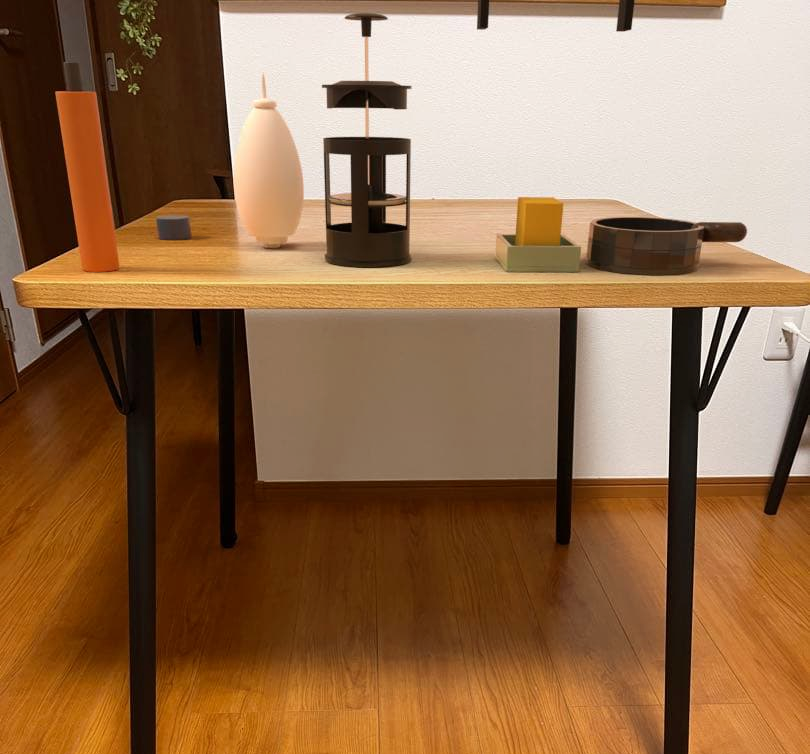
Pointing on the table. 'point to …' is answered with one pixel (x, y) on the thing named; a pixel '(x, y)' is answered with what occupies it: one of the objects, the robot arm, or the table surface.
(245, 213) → the air blower bulb
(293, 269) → the table surface
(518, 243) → the sponge
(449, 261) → the table surface
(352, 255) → the french press
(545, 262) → the sponge dish
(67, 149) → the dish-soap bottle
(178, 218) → the steel-wool tin
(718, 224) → the pan handle
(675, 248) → the pan
